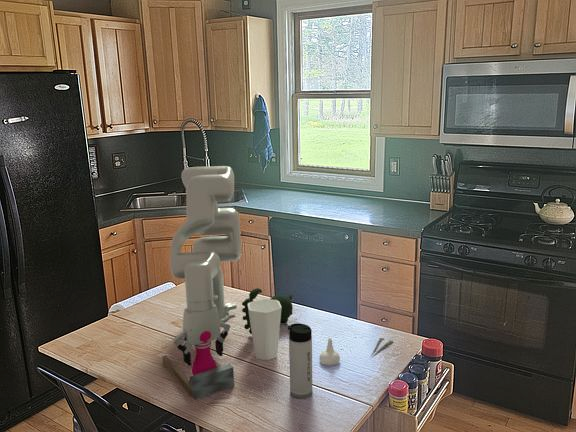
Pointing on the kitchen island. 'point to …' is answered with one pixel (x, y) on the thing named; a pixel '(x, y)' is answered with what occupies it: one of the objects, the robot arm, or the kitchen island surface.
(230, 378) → the guide channel
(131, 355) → the kitchen island surface
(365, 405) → the kitchen island surface
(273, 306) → the cup
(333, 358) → the garlic bulb
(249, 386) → the kitchen island surface
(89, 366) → the kitchen island surface
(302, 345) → the travel mug
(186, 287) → the robot arm
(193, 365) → the pepper mill
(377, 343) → the tweezers
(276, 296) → the toy figurine
